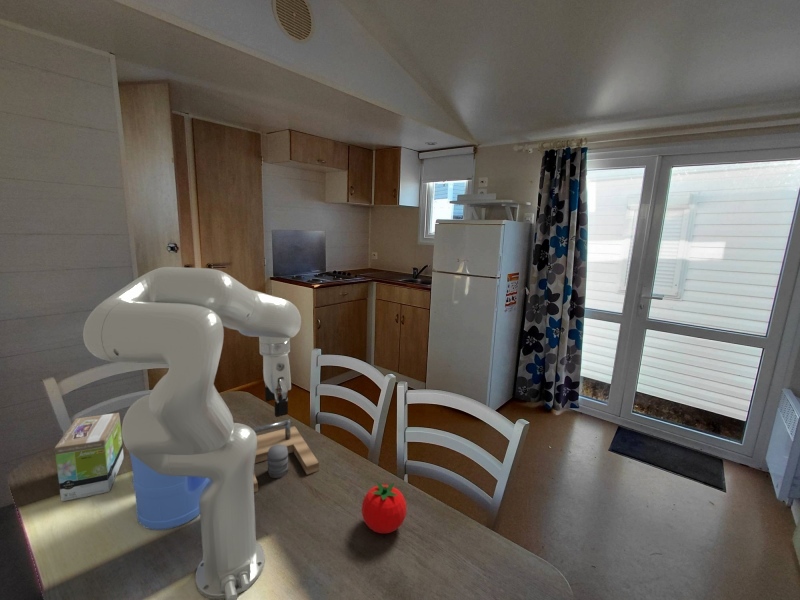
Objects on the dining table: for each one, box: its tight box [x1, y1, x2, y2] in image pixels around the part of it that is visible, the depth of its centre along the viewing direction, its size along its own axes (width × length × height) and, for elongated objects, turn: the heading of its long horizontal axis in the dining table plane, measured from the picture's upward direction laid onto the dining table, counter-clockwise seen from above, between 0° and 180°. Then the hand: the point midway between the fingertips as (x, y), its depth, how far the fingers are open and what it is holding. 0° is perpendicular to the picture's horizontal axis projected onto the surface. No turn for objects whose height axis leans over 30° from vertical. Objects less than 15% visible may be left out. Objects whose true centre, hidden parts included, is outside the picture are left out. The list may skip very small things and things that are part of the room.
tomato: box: [361, 481, 407, 534], centre depth 86 cm, size 10×10×10 cm
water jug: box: [129, 452, 211, 531], centre depth 87 cm, size 16×16×28 cm
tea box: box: [54, 412, 125, 502], centre depth 96 cm, size 15×10×15 cm, turn 25°
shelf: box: [253, 425, 320, 493], centre depth 108 cm, size 22×20×2 cm
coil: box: [267, 444, 289, 479], centre depth 103 cm, size 5×5×7 cm
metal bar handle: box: [252, 418, 292, 440], centre depth 110 cm, size 3×14×6 cm, turn 123°
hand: (276, 407), depth 99 cm, fingers open, 9 cm apart
